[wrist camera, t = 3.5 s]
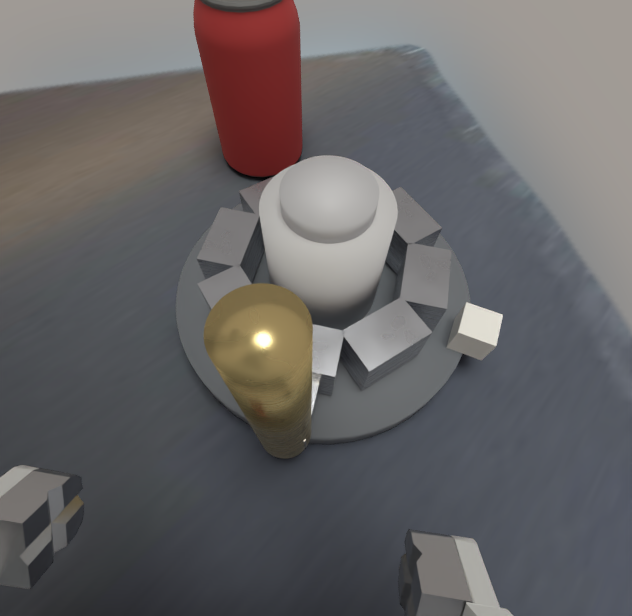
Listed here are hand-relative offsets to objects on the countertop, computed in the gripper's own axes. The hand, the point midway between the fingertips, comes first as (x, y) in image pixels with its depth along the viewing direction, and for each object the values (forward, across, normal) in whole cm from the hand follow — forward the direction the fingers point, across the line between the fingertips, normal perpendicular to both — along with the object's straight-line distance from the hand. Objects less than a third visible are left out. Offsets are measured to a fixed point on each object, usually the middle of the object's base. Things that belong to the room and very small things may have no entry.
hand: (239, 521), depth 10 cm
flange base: (+17, -1, -1) cm, 17 cm away
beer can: (+27, +6, -11) cm, 30 cm away
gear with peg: (+14, 0, -1) cm, 14 cm away
